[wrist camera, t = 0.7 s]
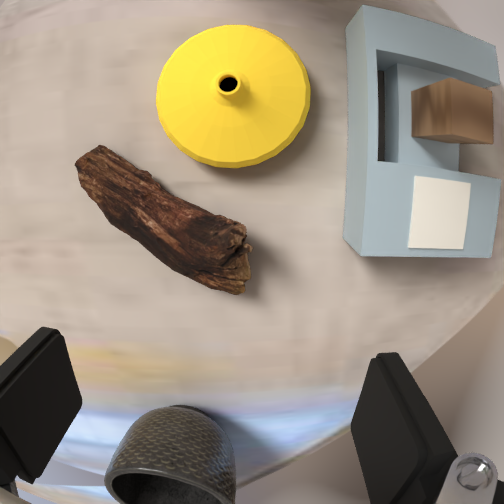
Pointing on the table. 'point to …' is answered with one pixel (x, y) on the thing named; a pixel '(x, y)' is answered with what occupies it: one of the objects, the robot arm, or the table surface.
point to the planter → (173, 460)
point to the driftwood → (167, 222)
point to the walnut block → (452, 113)
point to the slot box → (412, 142)
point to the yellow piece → (233, 96)
